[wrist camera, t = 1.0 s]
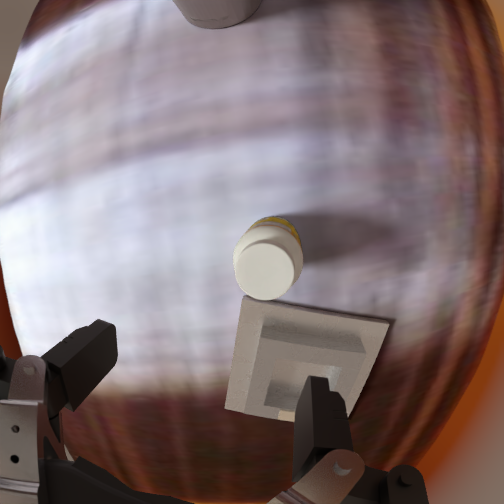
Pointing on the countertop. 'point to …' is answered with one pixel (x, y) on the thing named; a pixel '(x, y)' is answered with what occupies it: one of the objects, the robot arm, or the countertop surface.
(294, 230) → the supplement bottle
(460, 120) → the countertop surface
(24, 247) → the countertop surface
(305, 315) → the white square holder
